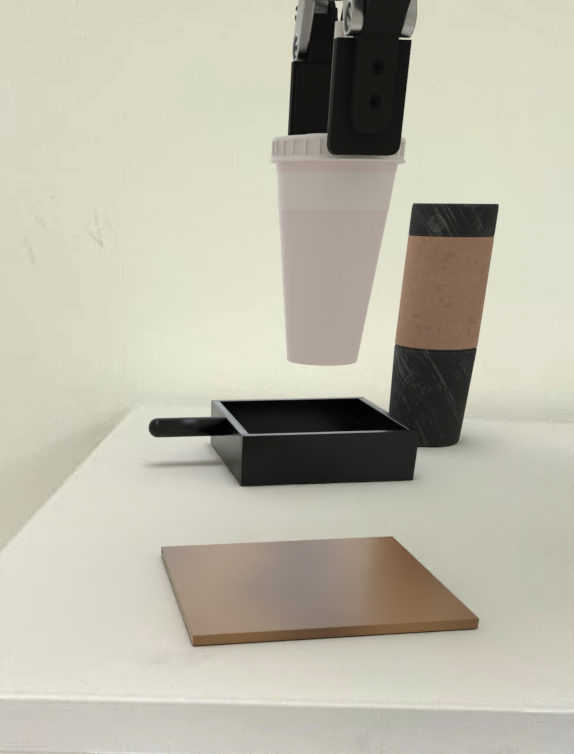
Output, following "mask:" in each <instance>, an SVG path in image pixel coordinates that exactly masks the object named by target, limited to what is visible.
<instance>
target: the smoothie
mask: <svg viewBox="0 0 574 754" xmlns="http://www.w3.org/2000/svg"><path fill="white" fill-rule="evenodd" d="M337 37H346V36H345V34H344V29H343V21H340V20H338V21H336V22H335V32H334V39H335V38H337ZM333 49H334V46H333ZM332 63H333V60H332ZM331 77H332V75H331ZM330 92H331V89H330ZM329 106H330V103H329ZM328 120H329V118H328ZM327 134H328V132H327V133H313V134H306V135H289V136H288V135H281V136H275V137H273V138H272V140H271V155H270V156H271V157H270V160H269V163H270V164H275V166H276V167H275V168H276V181H277V185H276V186H277V209H278V220H279V221H278V223H279V239H280V257H281V273H282V274H281V277H282V278H281V279H282V296H283V312H284V313H283V314H284V331H285V351H286V360H287V362H290V363H293V364H298V365H303V366H304V365H306V366H317V367H319V366H320V367H321V366H323V367H333V366H334V367H335V366H348V365H353V364H356V363H357V362H358V358H359V353H360V349H361V347H360V346H361V343H362V338H363V333H364V328H365V324H366V319H367V314H368V309H369V304H370V300H371V296H372V290H373V285H374V281H375V276H376V271H377V266H378V261H379V258H380V257H379V256H380V252H381V246H382V242H383V237H384V233H385V228H386V223H387V218H388V214H389V211H390V205H391V200H392V195H393V190H394V186H395V179H396V176H397V175H396V174H397V171H398V166H399V165H402V164H405V163H406V159H405V152H406V143H407V140H406V138H405V137H403V136H401V145H400V148H399V150H398V152H397V153H396V154H394V155H390V156H361V155H332V154H331V153H330V152H329V151H328V149H327Z"/></svg>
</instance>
